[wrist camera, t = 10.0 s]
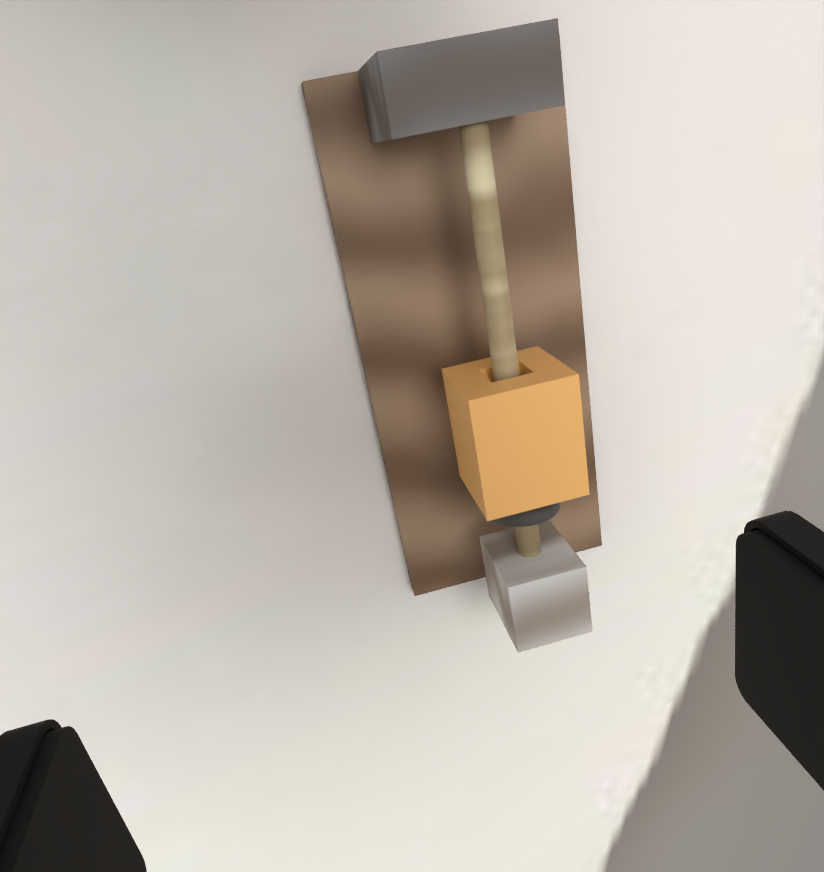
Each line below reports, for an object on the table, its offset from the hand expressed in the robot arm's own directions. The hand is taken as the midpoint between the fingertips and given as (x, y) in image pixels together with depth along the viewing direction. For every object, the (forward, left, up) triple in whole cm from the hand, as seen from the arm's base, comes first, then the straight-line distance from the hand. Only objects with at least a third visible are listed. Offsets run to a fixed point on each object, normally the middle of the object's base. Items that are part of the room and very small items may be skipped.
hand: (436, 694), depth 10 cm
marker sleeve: (+7, +8, -25) cm, 27 cm away
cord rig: (+4, +8, -28) cm, 29 cm away
